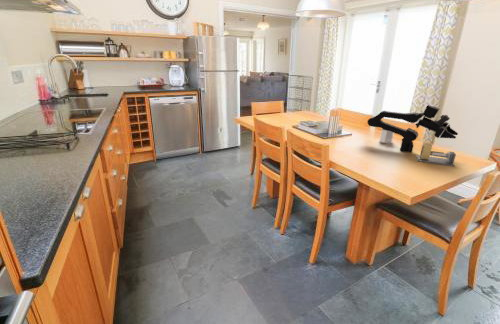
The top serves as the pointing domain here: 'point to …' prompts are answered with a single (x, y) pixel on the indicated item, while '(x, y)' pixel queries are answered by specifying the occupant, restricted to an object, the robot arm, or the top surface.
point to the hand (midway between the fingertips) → (456, 135)
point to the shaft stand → (440, 161)
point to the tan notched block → (426, 150)
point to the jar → (386, 136)
